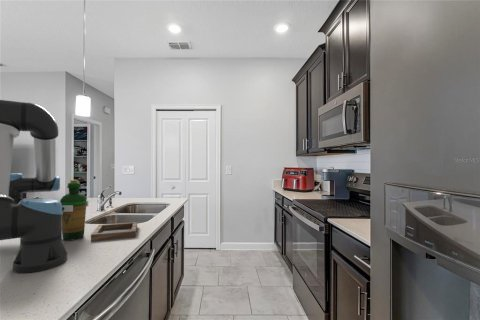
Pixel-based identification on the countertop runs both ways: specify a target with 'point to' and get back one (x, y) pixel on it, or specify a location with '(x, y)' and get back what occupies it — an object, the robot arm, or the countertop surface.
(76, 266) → the countertop surface
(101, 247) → the countertop surface
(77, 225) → the bottle
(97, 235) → the walnut frame
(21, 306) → the countertop surface
